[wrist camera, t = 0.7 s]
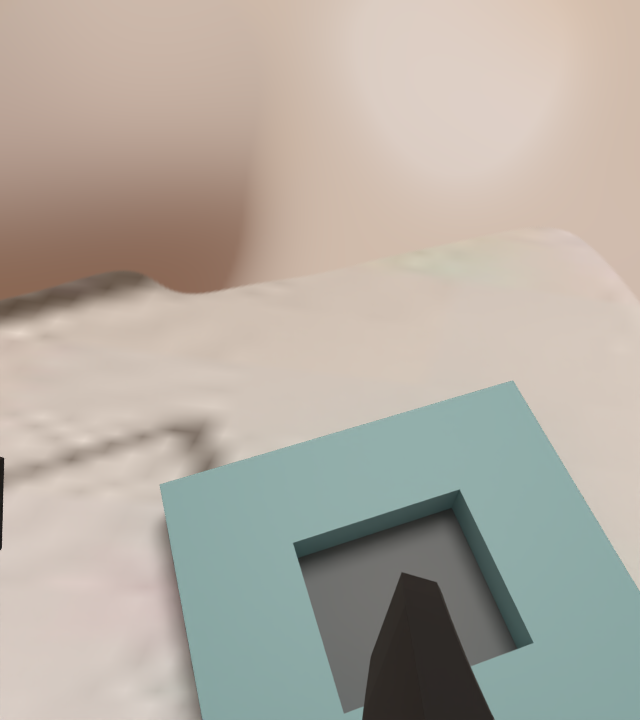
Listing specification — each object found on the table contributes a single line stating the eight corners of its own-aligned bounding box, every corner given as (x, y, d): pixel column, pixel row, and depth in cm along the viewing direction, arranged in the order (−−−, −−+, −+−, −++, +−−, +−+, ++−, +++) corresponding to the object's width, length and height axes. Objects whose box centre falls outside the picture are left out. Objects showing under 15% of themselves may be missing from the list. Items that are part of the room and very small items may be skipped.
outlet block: (683, 729, 22) (719, 723, 20) (249, 910, 19) (239, 925, 17) (500, 408, 30) (513, 380, 28) (172, 507, 27) (159, 484, 25)
